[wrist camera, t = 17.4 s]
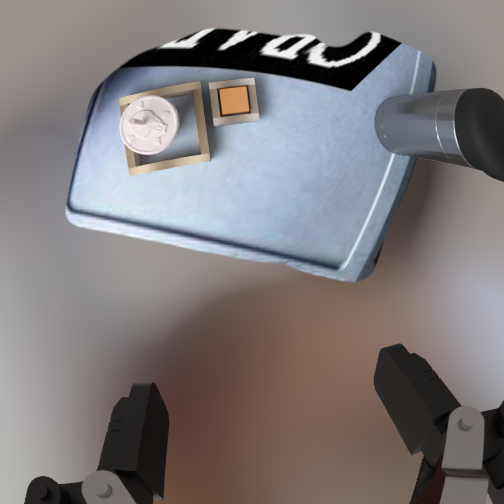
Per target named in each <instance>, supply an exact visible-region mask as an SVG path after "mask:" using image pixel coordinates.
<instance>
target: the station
mask: <svg viewBox="0 0 504 504" xmlns="http://www.w3.org/2000/svg"><path fill="white" fill-rule="evenodd" d="M236 87H246V89H247V97H248V105H249V112H248V113H243V114H234V115H226V116H222V110H221V102H220V94H219V91H220V89H227V88H236ZM209 90H210V98H211V106H212V114H213V122H214V127H216V126H223V125H231V124H239V123H248V122H257V121H258V120H259V111H258V103H257V95H256V87H255V80H254V78H246V79H236V80H226V81H218V82H211V83H209ZM189 94H193V95H194V104H195V112H196V120H197V127H198V135H199V142H200V150H201V154H198V155H192V156H186V157H180V158H175V159H170V160H164V161H159V162H154V163H149V164H145V165H142V164H141V158H140V154H139V153H136V152H134V151H132V150H131V149H129V148H128V147H127V146H126V145H125V149H126V155H127V162H128V168H129V174H130V176H133V175H138V174H143V173H147V172H152V171H157V170H162V169H168V168H173V167H179V166H184V165H190V164H196V163H202V162H209V161H211V158H210V150H209V143H208V135H207V128H206V120H205V112H204V104H203V96H202V88H201V83H200V81H197V82H191V83H185V84H180V85H174V86H169V87H164V88H159V89H155V90H150V91H146V92H142V93H138V94H134V95H130V96H126V97H122V98H119V102H120V111H121V117H122V114H123V112H124V111H125V109H126V108H127V107H128V106H129V105H130V104H131V103H132V102H133V101H134V100H136V99H138V98H140V97H143V96H148V95H155V96H160V97H163V98H165V99H168V98H173V97H178V96H184V95H189Z"/></svg>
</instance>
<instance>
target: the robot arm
mask: <svg viewBox="0 0 504 504" xmlns="http://www.w3.org/2000/svg"><path fill="white" fill-rule="evenodd" d="M375 128H376V133H377V136H378V138H379V140H380V142H381V143H382V144H383V146H384V147H385V148H386V149H387V150H389V151H390V152H392V153H394V154H398V155H404V156H411V157H416V158H423V159H428V160H434V161H440V162H445V163H451V164H455V165H460V166H465V167H470V168H474V169H478V170H482V171H484V172H485V173H486V174H487V175H489V176H490V177H492V178H494V179H497V180H500V181H503V182H504V100H503V98H502V97H501V96H500V95H498V94H497V93H496V92H494V91H492V90H490V89H486V88H474V89H460V90H449V91H439V92H430V93H422V94H414V95H407V96H400V97H395V98H389V99H387V100H385V101H384V102H383V103H381V105H380V106H379V108H378V110H377V112H376V116H375ZM374 386H375V390H376V392H377V394H378V396H379V397H380V399H381V401H382V403H383V404H384V406H385V408H386V410H387V412H388V413H389V415H390V417H391V419H392V420H393V422H394V424H395V426H396V428H397V429H398V432H399V433H400V435H401V437H402V439H403V441H404V443H405V444H406V446H407V448H408V450H409V452H410V454H411V455H413V454H415V453H418V452H420V451H422V453H423V455H424V456H423V458H422V462H421V466H420V470H419V473H418V477H417V481H416V484H415V488H414V491H413V494H412V497H411V500H410V502H409V504H485V502H486V496H487V492H488V494H489V496H490V498H491V500H492V503H493V504H504V401H503V402H502V404H501V405H500V407H499V408H497V409H492V410H488V411H483V412H479V411H478V410H477V409H475V408H473V407H470V406H461V405H460V403H459V402H458V401H457V400H456V398H455V397H454V396H453V394H452V393H451V392H450V390H449V389H448V388H447V386H446V385H445V384H444V383H443V381H442V380H441V379H440V378H438V375H437V374H436V372H435V371H433V369H432V367H431V366H430V365H429V364H428V362H427V361H426V360H425V359H423V358H422V357H420V356H419V355H417V354H415V353H412V354H410V353H409V352H408V351H407V349H406V348H405V347H404V346H403V345H402V344H396V345H392V346H389V347H385V348H382V349H381V350H380V353H379V357H378V362H377V366H376V370H375V374H374ZM168 431H169V414H168V411H167V408H166V405H165V403H164V401H163V399H162V397H161V395H160V392H159V390H158V388H157V386H156V384H155V383H134V384H133V385H132V387H131V391H130V395H129V397H128V398H127V397H122V398H121V399H120V400H119V401H118V403H117V404H116V405H115V407H114V408H113V412H112V415H111V418H110V422H109V426H108V432H107V433H106V438H105V441H104V446H103V449H102V453H101V457H100V462H99V466H98V469H97V471H95V472H93V473H91V474H89V475H88V476H87V477H86V478H85V480H84V481H82V482H77V483H68V484H58V483H57V482H55V481H54V480H53V479H51V478H50V477H45V476H41V477H37V478H35V479H34V480H32V482H31V483H30V484H29V486H28V490H27V493H26V498H25V503H24V504H153V499H162V500H163V497H164V480H165V467H166V454H167V442H168Z"/></svg>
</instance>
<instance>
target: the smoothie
mask: <svg viewBox="0 0 504 504" xmlns="http://www.w3.org/2000/svg"><path fill="white" fill-rule="evenodd" d="M179 127H180V118H179V114H178V111H177V109H176V108H175V106H174V105H173V104H172V103H171V102H170V101H168V100H167V99H165V98H163V97H160V96H155V95H148V96H143V97H140V98H138V99H136V100H134V101H133V102H132V103H131V104H130V105H129V106H128V107H127V108H126V109H125V111H124V112H123V114H122V117H121V120H120V135H121V138H122V140H123V142H124V143H125V145H126V146H127V147H128V148H129V149H131V150H132V151H134V152H136V153H139V154H146V155H151V154H157V153H159V152H161V151H164V150H165V149H166V148H168V147H169V146H170V145H171V144H172V143H173V141H174V140H175V139H176V137H177V134H178V132H179Z"/></svg>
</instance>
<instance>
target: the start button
mask: <svg viewBox="0 0 504 504" xmlns="http://www.w3.org/2000/svg"><path fill="white" fill-rule="evenodd" d="M219 94H220V102H221V110H222V116H226V115H234V114H243V113H248V112H249V105H248V97H247V89H246V87H236V88H227V89H220V91H219Z"/></svg>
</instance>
